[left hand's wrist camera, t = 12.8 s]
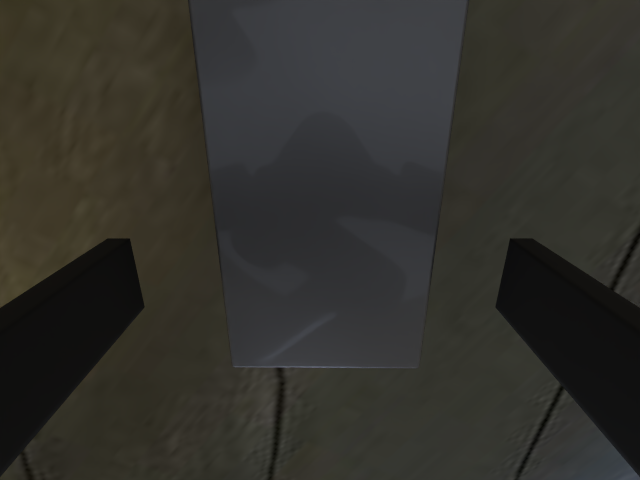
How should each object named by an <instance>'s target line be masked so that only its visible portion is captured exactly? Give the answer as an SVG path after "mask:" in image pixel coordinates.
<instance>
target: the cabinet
mask: <svg viewBox="0 0 640 480" xmlns="http://www.w3.org/2000/svg"><path fill="white" fill-rule="evenodd" d="M188 3H189V12H190V20H191V28H192V37H193V45H194V53H195V62H196V70H197V78H198V87H199V95H200V103H201V112H202V120H203V128H204V137H205V145H206V153H207V162H208V170H209V178H210V187H211V195H212V203H213V212H214V220H215V228H216V237H217V245H218V253H219V262H220V270H221V278H222V287H223V295H224V303H225V311H226V320H227V328H228V336H229V345H230V353H231V361H232V366H233V367H312V368H419V365H420V357H421V350H422V343H423V335H424V328H425V321H426V313H427V306H428V298H429V291H430V284H431V276H432V269H433V262H434V254H435V247H436V240H437V232H438V225H439V217H440V210H441V203H442V195H443V188H444V181H445V173H446V166H447V159H448V151H449V144H450V136H451V129H452V122H453V114H454V107H455V100H456V92H457V85H458V77H459V70H460V63H461V55H462V48H463V41H464V33H465V26H466V19H467V11H468V4H469V0H188Z"/></svg>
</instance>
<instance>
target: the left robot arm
mask: <svg viewBox="0 0 640 480" xmlns="http://www.w3.org/2000/svg"><path fill="white" fill-rule="evenodd" d="M143 308H144V302H143V298H142V293H141V288H140V284H139V279H138V274H137V270H136V265H135V260H134V256H133V251H132V247H131V242H130V239H106V240H105V241H103V242H102V243H100V244H98V245H97V246H95V247H94V248H92V249H91V250H89V251H88V252H86V253H85V254H83V255H81V256H80V257H78V258H77V259H75V260H74V261H72V262H71V263H69V264H68V265H66V266H64V267H63V268H61V269H60V270H58V271H57V272H55V273H54V274H52V275H51V276H49V277H47V278H46V279H44V280H43V281H41V282H40V283H38V284H37V285H35V286H34V287H32V288H30V289H29V290H27V291H26V292H24V293H23V294H21V295H20V296H18V297H17V298H15V299H14V300H12V301H10V302H9V303H7V304H6V305H4V306H3V307H1V308H0V476H1V475H2V474H3V473H4V472H5V471H6V469H7V468H8V467H9V466H10V465H11V464H12V462H13V461H14V460H15V459H16V458H17V456H18V455H19V454H20V453H21V452H22V451H23V449H24V448H25V447H26V446H27V445H28V444H29V442H30V441H31V440H32V439H33V438H34V437H35V435H36V434H37V433H38V432H39V431H40V429H41V428H42V427H43V426H44V425H45V424H46V422H47V421H48V420H49V419H50V418H51V417H52V415H53V414H54V413H55V412H56V411H57V409H58V408H59V407H60V406H61V405H62V404H63V402H64V401H65V400H66V399H67V398H68V397H69V395H70V394H71V393H72V392H73V391H74V390H75V388H76V387H77V386H78V385H79V384H80V382H81V381H82V380H83V379H84V378H85V377H86V375H87V374H88V373H89V372H90V371H91V370H92V368H93V367H94V366H95V365H96V364H97V362H98V361H99V360H100V359H101V358H102V357H103V355H104V354H105V353H106V352H107V351H108V350H109V348H110V347H111V346H112V345H113V344H114V343H115V341H116V340H117V339H118V338H119V337H120V335H121V334H122V333H123V332H124V331H125V330H126V328H127V327H128V326H129V325H130V324H131V323H132V321H133V320H134V319H135V318H136V317H137V315H138V314H139V313H140V312H141V311H142V310H143ZM496 308H497V310H498V311H499V312H500V313H501V314H502V315H503V317H504V318H505V319H506V320H507V321H508V323H509V324H510V325H511V326H512V327H513V328H514V330H515V331H516V332H517V333H518V334H519V335H520V337H521V338H522V339H523V340H524V341H525V343H526V344H527V345H528V346H529V347H530V348H531V350H532V351H533V352H534V353H535V354H536V355H537V357H538V358H539V359H540V360H541V361H542V362H543V364H544V365H545V366H546V367H547V368H548V370H549V371H550V372H551V373H552V374H553V375H554V377H555V378H556V379H557V380H558V381H559V382H560V384H561V385H562V386H563V387H564V388H565V390H566V391H567V392H568V393H569V394H570V395H571V397H572V398H573V399H574V400H575V401H576V402H577V404H578V405H579V406H580V407H581V408H582V409H583V411H584V412H585V413H586V414H587V415H588V417H589V418H590V419H591V420H592V421H593V422H594V424H595V425H596V426H597V427H598V428H599V429H600V431H601V432H602V433H603V434H604V435H605V437H606V438H607V439H608V440H609V441H610V442H611V444H612V445H613V446H614V447H615V448H616V449H617V451H618V452H619V453H620V454H621V455H622V456H623V458H624V459H625V460H626V461H627V462H628V464H629V465H630V466H631V467H632V468H633V469H634V471H635V472H636V473H637V474H638V475H639V476H640V308H639V307H637V306H636V305H634V304H633V303H631V302H630V301H628V300H626V299H625V298H623V297H622V296H620V295H619V294H617V293H616V292H614V291H613V290H611V289H610V288H608V287H606V286H605V285H603V284H602V283H600V282H599V281H597V280H596V279H594V278H593V277H591V276H589V275H588V274H586V273H585V272H583V271H582V270H580V269H579V268H577V267H576V266H574V265H572V264H571V263H569V262H568V261H566V260H565V259H563V258H562V257H560V256H559V255H557V254H555V253H554V252H552V251H551V250H549V249H548V248H546V247H545V246H543V245H542V244H540V243H538V242H537V241H535V240H534V239H510V242H509V247H508V251H507V256H506V260H505V265H504V270H503V274H502V279H501V284H500V288H499V293H498V298H497V302H496Z"/></svg>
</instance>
